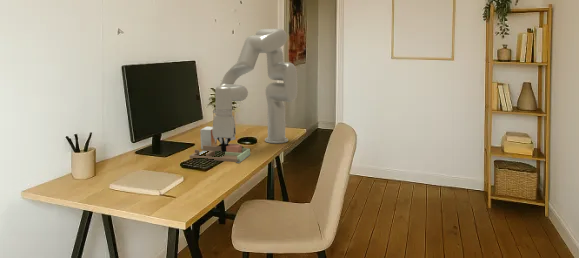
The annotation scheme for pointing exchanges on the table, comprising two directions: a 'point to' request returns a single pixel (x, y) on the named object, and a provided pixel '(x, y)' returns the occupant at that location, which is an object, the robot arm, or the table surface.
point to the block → (234, 148)
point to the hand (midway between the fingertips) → (224, 151)
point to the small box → (207, 137)
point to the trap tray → (227, 157)
